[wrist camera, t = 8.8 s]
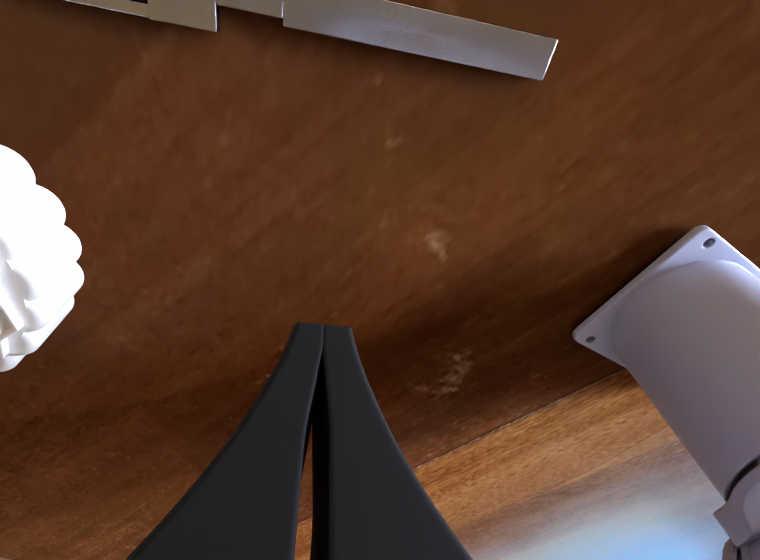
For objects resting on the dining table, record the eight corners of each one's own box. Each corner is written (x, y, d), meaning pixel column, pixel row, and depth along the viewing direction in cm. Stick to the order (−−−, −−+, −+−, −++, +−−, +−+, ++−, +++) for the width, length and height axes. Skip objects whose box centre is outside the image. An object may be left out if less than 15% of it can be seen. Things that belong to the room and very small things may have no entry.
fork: (560, 19, 14) (565, 20, 13) (532, 95, 15) (536, 97, 15) (23, -110, 11) (13, -113, 11) (47, -4, 12) (39, -3, 12)
